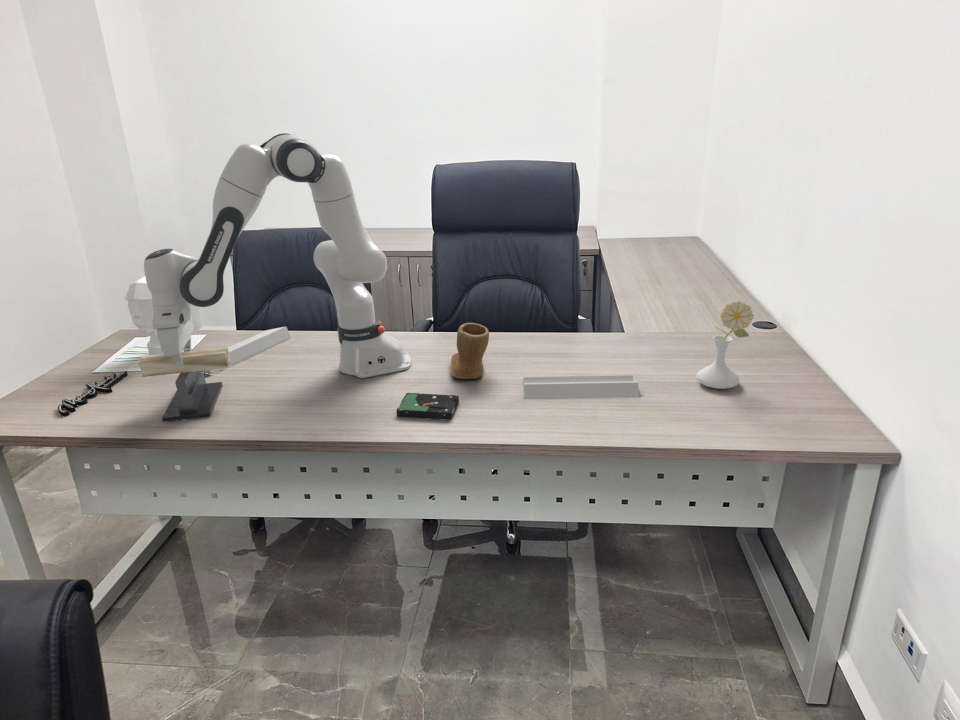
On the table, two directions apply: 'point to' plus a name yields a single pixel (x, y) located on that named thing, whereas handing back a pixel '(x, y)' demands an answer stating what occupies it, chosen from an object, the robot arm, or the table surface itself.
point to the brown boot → (469, 351)
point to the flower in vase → (719, 372)
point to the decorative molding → (254, 345)
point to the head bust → (143, 312)
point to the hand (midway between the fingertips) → (184, 359)
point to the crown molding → (580, 387)
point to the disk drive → (428, 406)
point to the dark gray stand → (192, 397)
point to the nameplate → (91, 393)
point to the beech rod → (185, 362)
